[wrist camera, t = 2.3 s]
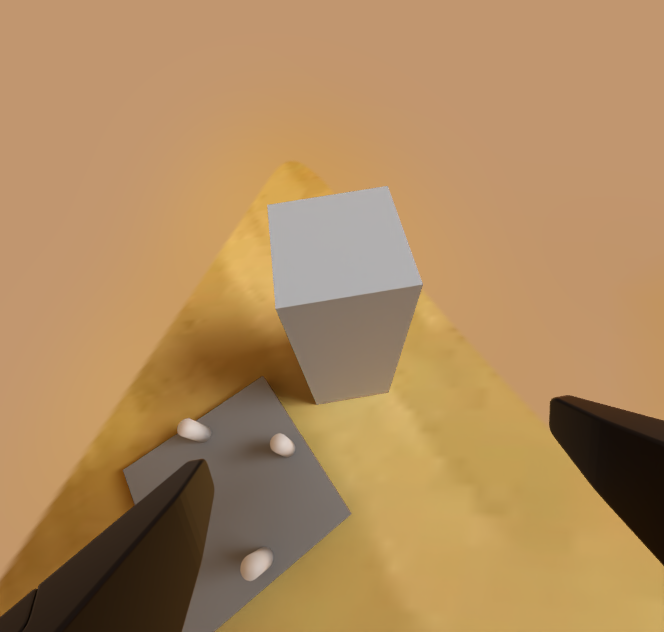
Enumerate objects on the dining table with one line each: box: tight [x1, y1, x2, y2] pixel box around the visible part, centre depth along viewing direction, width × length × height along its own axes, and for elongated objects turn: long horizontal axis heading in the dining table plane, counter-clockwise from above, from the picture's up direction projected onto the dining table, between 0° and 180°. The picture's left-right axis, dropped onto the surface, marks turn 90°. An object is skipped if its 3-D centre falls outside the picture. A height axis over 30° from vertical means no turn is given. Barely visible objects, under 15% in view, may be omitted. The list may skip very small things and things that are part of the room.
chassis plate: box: [123, 376, 351, 632], centre depth 18 cm, size 10×10×4 cm
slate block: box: [267, 186, 423, 405], centre depth 18 cm, size 5×5×13 cm
